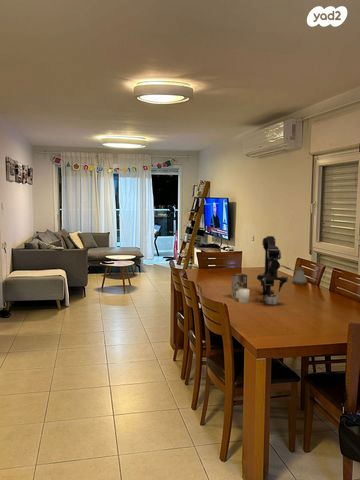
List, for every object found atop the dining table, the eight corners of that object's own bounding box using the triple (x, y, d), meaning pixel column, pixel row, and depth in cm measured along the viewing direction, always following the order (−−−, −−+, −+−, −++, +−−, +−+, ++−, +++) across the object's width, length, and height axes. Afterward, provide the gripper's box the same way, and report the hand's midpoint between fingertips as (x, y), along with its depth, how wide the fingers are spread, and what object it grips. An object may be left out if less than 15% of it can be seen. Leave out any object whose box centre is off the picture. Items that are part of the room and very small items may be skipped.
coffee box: (243, 296, 286) (243, 273, 285) (247, 298, 280) (247, 275, 278) (230, 296, 284) (231, 273, 282) (234, 299, 278) (235, 275, 276)
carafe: (264, 301, 272) (264, 293, 271) (278, 303, 267) (279, 295, 267) (261, 304, 265) (261, 295, 265) (275, 306, 261) (276, 297, 260)
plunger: (269, 301, 269) (269, 289, 268) (276, 302, 267) (276, 290, 266) (267, 302, 265) (267, 290, 264) (274, 303, 263) (274, 291, 262)
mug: (237, 299, 278) (237, 287, 277) (250, 300, 274) (250, 289, 273) (234, 301, 271) (234, 289, 271) (247, 303, 267) (247, 291, 267)
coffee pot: (304, 282, 336) (305, 264, 334) (308, 285, 324) (309, 266, 323) (278, 282, 336) (278, 263, 335) (281, 285, 325) (281, 266, 324)
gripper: (255, 267, 260) (254, 292, 262) (284, 270, 252) (283, 295, 254) (259, 265, 270) (259, 288, 272) (288, 268, 262) (287, 292, 263)
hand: (272, 291), depth 265 cm, fingers open, 9 cm apart
